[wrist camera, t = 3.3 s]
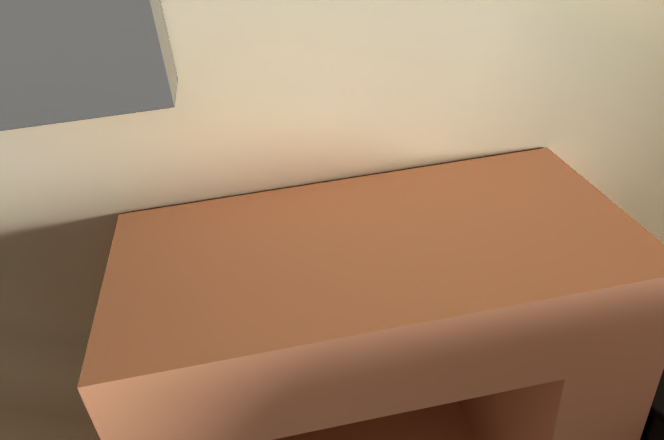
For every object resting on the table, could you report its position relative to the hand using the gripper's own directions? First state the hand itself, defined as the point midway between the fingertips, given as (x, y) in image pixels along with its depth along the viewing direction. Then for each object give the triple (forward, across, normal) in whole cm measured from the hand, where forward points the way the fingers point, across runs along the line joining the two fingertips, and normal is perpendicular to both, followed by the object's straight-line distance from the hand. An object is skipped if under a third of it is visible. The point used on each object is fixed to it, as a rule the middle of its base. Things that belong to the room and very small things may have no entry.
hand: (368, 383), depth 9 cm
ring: (+1, 0, 0) cm, 1 cm away
